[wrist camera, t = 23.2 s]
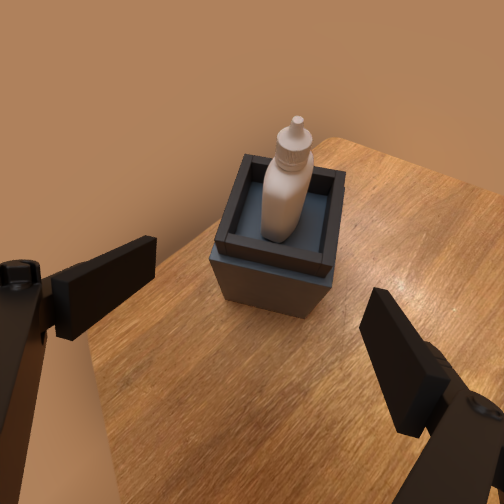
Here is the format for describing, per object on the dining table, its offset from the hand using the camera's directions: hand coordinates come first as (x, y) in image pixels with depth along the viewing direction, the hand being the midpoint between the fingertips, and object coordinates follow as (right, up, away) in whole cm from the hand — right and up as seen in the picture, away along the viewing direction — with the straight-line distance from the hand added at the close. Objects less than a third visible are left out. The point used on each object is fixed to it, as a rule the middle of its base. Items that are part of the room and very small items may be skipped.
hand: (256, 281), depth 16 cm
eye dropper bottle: (+3, +5, +12) cm, 13 cm away
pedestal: (+3, -1, +25) cm, 26 cm away
